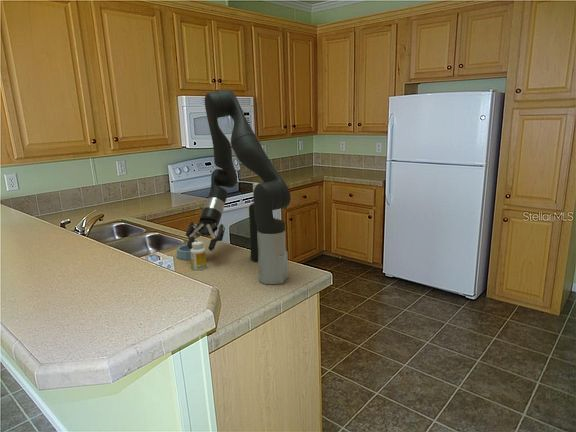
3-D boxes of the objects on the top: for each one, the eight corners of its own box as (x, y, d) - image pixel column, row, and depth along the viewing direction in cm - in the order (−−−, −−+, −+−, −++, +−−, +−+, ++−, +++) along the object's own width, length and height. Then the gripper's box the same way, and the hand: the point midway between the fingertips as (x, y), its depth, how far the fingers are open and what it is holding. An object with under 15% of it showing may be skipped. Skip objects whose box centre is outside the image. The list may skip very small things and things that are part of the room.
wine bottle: (267, 257, 156) (265, 182, 149) (263, 262, 151) (260, 184, 144) (253, 256, 158) (250, 181, 151) (248, 261, 152) (245, 183, 145)
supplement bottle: (208, 265, 148) (207, 241, 146) (202, 270, 143) (200, 245, 141) (196, 264, 149) (194, 240, 147) (189, 269, 144) (187, 244, 142)
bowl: (207, 253, 163) (206, 245, 162) (195, 261, 153) (194, 252, 152) (185, 251, 165) (185, 243, 165) (172, 259, 156) (171, 250, 155)
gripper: (192, 205, 153) (178, 242, 145) (225, 207, 149) (213, 245, 141) (199, 216, 159) (186, 251, 151) (232, 218, 155) (220, 255, 147)
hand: (199, 248), depth 146 cm, fingers open, 8 cm apart
